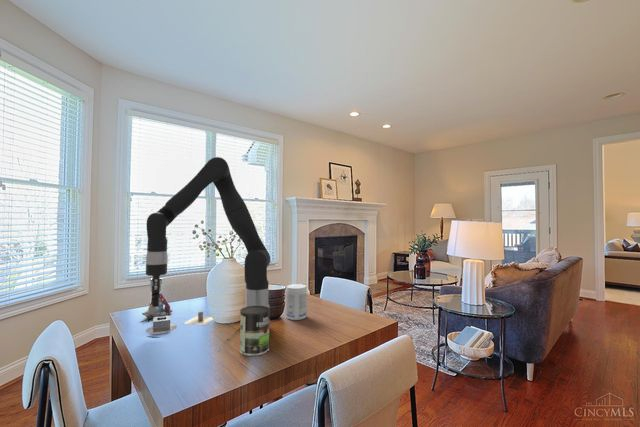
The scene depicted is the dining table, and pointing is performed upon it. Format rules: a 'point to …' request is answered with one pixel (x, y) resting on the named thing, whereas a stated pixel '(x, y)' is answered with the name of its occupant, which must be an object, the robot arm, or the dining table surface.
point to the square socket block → (161, 323)
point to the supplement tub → (296, 302)
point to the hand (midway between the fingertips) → (155, 306)
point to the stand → (199, 319)
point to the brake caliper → (158, 309)
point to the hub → (150, 331)
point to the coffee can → (254, 330)
